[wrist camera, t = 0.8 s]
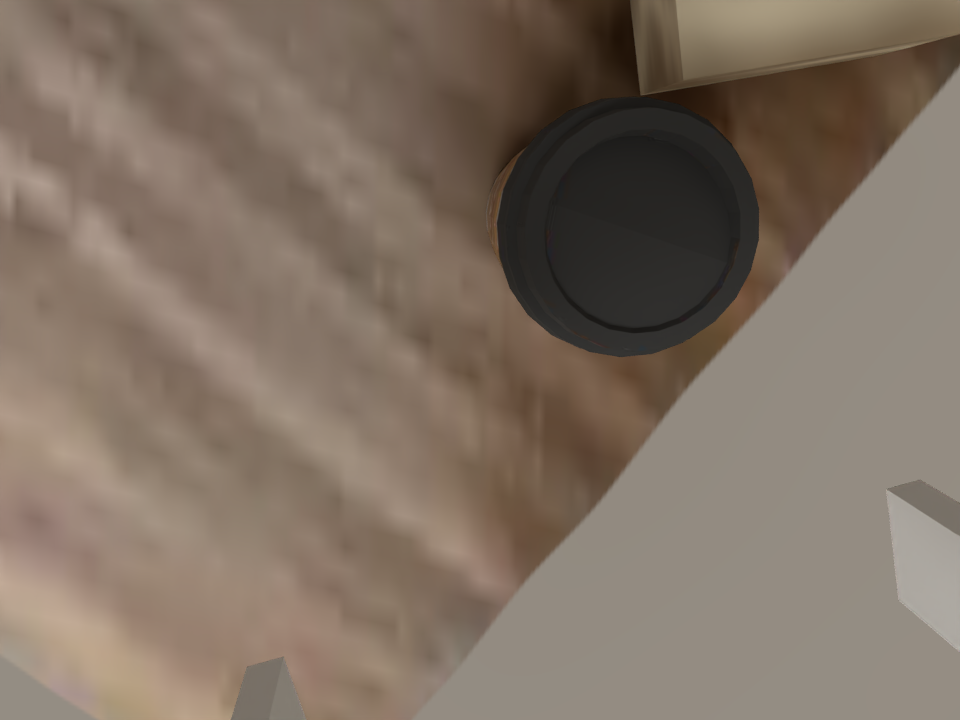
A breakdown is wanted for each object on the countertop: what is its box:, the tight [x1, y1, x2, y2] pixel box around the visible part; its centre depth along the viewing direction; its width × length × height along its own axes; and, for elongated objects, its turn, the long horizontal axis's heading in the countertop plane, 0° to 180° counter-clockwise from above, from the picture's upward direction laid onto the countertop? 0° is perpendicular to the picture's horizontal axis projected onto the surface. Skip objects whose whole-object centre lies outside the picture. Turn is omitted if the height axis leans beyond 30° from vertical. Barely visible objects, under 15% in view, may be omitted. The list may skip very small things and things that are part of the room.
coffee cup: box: [486, 97, 759, 357], centre depth 30 cm, size 8×8×15 cm
